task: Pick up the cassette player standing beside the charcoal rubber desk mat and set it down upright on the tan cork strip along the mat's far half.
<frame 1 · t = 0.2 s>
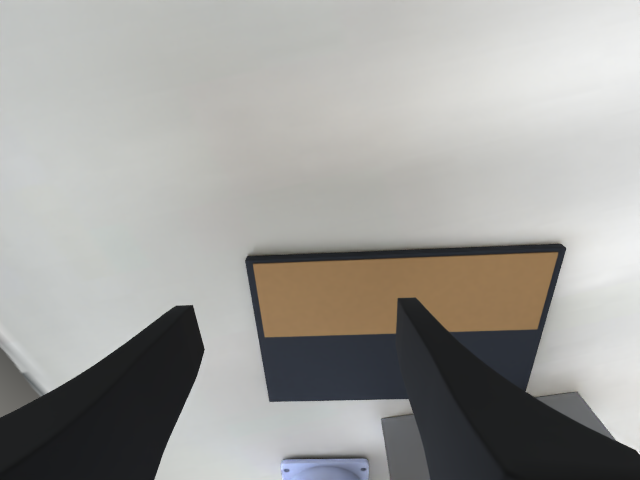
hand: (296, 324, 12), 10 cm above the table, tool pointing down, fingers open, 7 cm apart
desk mat: (396, 329, 25), on the table
cassette player: (475, 414, 29), on the table
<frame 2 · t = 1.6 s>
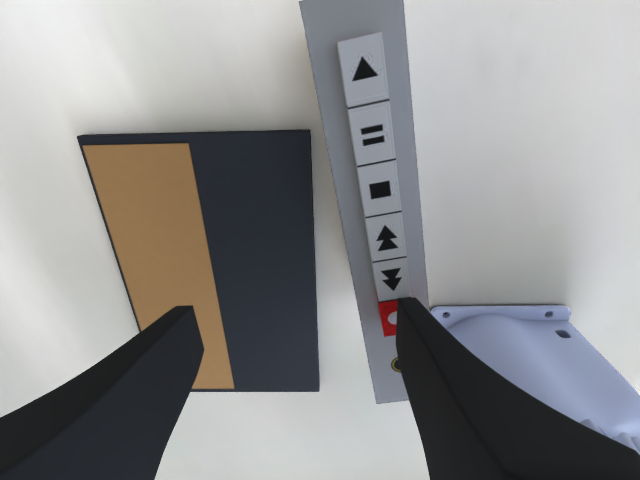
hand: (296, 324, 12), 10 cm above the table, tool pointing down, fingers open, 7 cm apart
desk mat: (221, 282, 24), on the table
cassette player: (362, 179, 20), on the table
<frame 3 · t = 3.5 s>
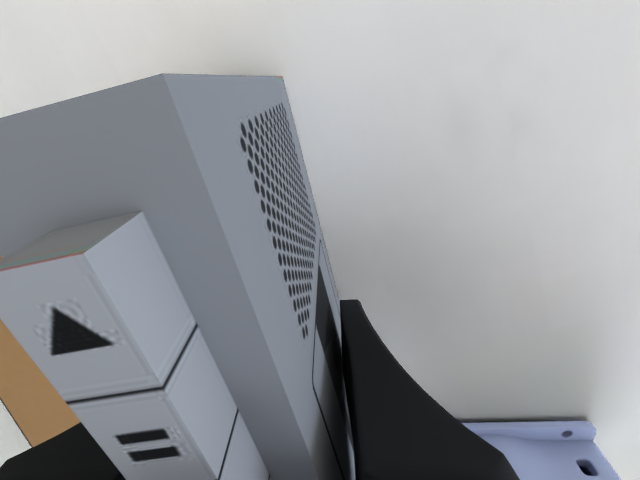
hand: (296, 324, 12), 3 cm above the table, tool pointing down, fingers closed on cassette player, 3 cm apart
desk mat: (134, 399, 18), on the table
cassette player: (302, 278, 15), on the table, touching gripper
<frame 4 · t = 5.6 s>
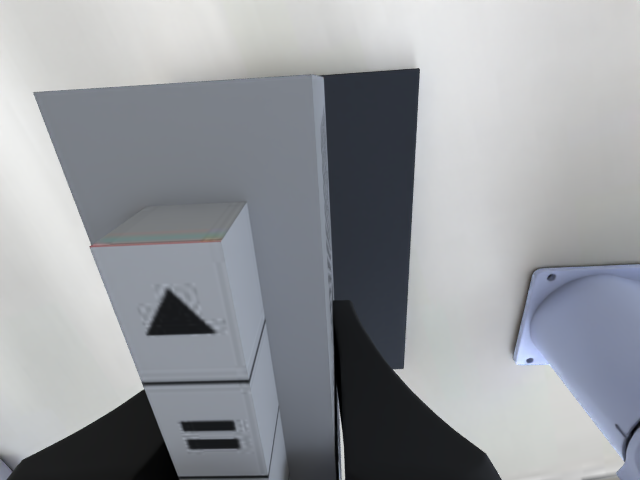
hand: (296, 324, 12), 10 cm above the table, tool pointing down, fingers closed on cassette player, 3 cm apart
desk mat: (306, 249, 22), on the table
cassette player: (302, 277, 15), point 7 cm above the table, touching gripper
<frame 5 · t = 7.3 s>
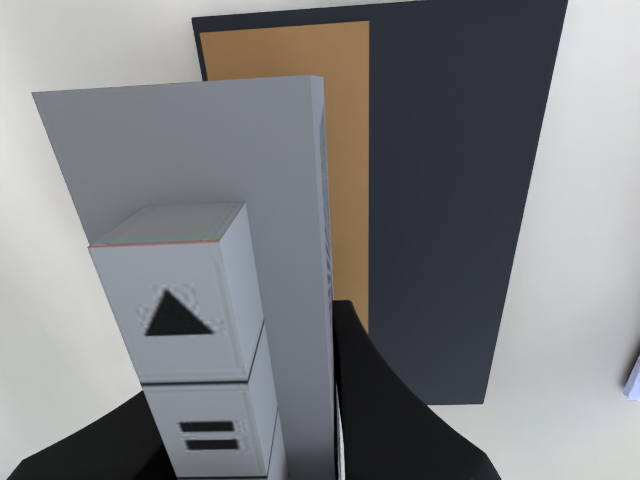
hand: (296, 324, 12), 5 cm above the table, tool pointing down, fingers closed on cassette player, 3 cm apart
desk mat: (372, 253, 17), on the table
cassette player: (301, 277, 15), point 2 cm above the table, touching gripper
when the fingers open (4 cm above the table, at t = 8.1 s): cassette player stays where it is, resting on desk mat.
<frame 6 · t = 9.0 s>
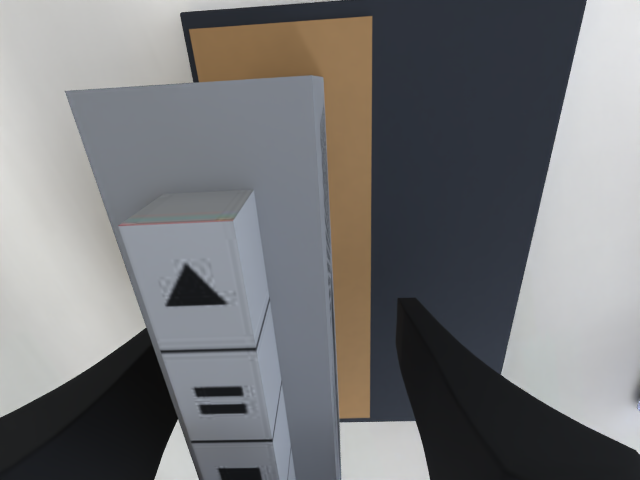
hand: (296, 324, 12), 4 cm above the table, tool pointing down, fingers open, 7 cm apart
desk mat: (374, 263, 16), on the table
cassette player: (302, 271, 15), point 1 cm above the table, touching desk mat
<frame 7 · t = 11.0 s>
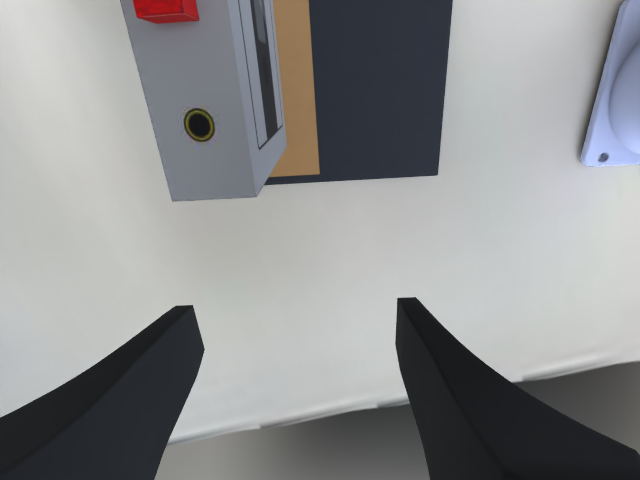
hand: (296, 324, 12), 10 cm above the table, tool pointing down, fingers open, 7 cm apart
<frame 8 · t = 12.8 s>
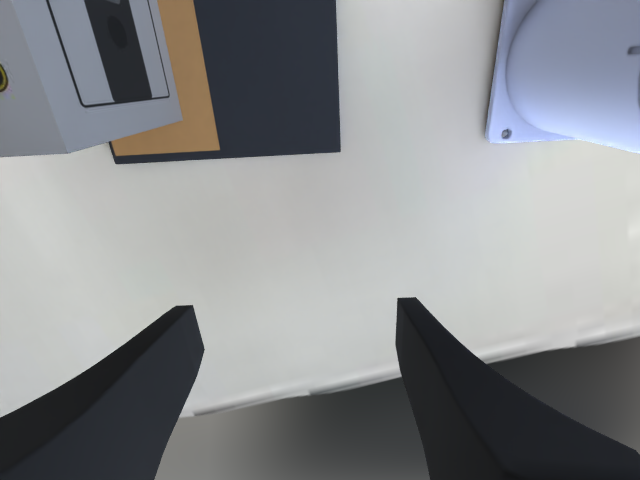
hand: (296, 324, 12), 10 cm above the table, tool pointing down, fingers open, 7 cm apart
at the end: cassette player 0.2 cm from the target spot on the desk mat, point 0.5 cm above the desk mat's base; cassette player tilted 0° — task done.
